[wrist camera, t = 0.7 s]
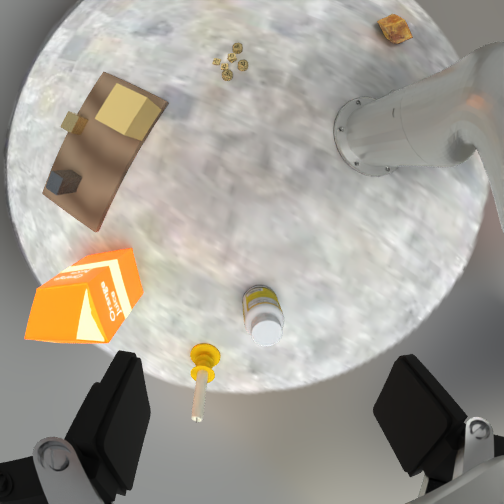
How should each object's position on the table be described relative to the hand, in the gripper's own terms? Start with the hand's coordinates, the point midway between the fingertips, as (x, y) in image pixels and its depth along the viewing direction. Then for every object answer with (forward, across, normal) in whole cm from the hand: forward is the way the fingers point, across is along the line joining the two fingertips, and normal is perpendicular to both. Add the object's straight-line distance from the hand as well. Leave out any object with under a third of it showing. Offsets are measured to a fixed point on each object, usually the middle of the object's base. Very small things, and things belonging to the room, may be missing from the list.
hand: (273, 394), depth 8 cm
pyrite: (+31, -22, -38) cm, 54 cm away
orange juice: (+32, +20, +9) cm, 39 cm away
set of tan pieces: (+32, +4, -24) cm, 41 cm away
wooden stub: (+31, +27, -15) cm, 43 cm away
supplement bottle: (+32, -4, +11) cm, 34 cm away
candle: (+32, +5, +23) cm, 40 cm away
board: (+32, +23, -11) cm, 41 cm away
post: (+31, +27, -6) cm, 41 cm away
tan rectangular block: (+31, +16, -15) cm, 38 cm away
